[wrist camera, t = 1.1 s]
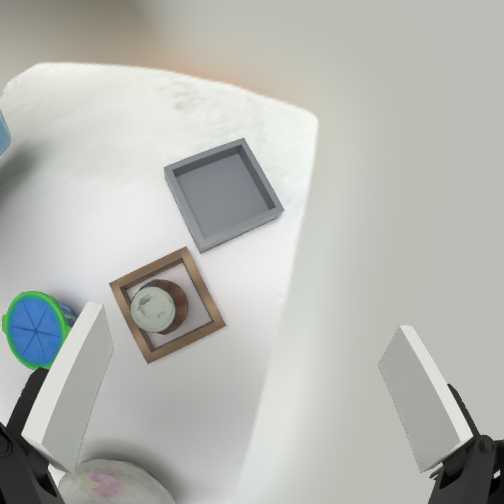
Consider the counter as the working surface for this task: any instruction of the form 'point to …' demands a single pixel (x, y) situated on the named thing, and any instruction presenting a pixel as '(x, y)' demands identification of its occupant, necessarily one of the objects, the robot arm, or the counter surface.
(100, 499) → the ceramic pitcher
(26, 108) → the counter surface
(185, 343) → the square brown frame
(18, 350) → the snack cup
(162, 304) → the sauce bottle
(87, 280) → the counter surface
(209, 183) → the tray
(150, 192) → the counter surface
